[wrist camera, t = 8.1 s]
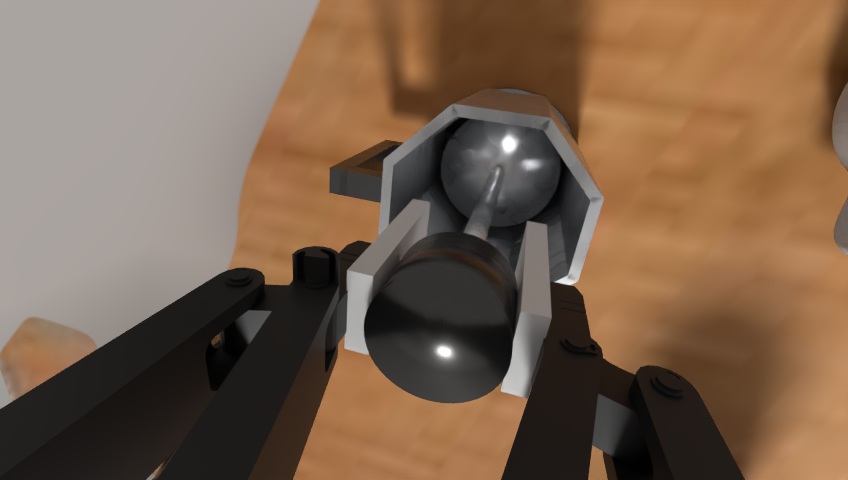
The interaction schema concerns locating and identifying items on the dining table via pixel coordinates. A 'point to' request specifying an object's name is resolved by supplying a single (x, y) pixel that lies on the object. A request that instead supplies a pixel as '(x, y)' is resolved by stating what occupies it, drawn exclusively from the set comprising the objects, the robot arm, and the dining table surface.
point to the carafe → (421, 179)
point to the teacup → (844, 140)
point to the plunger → (463, 270)
